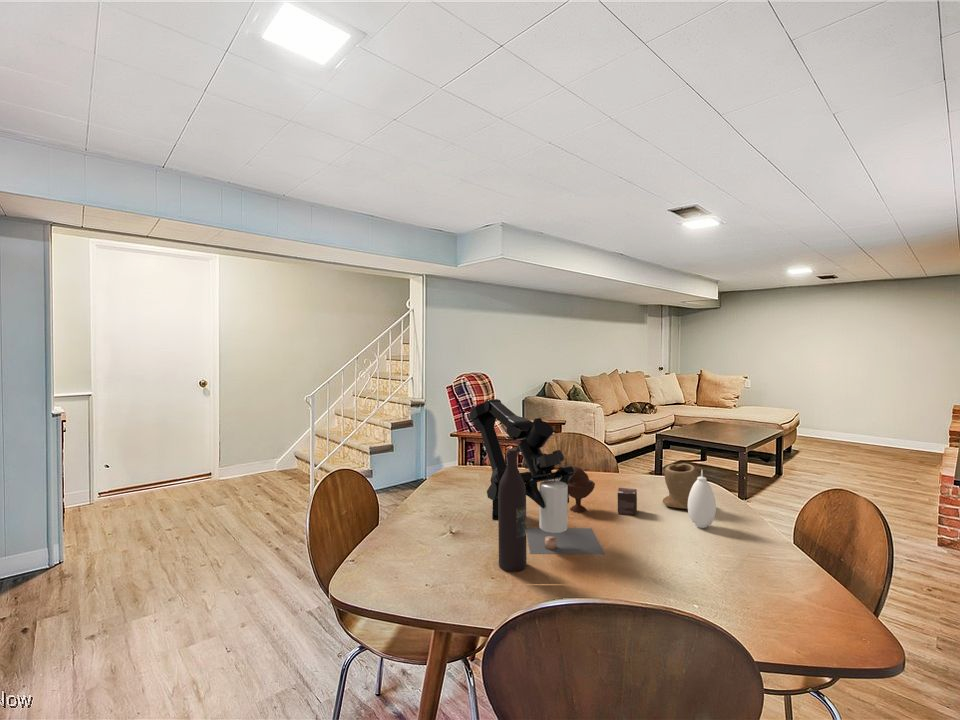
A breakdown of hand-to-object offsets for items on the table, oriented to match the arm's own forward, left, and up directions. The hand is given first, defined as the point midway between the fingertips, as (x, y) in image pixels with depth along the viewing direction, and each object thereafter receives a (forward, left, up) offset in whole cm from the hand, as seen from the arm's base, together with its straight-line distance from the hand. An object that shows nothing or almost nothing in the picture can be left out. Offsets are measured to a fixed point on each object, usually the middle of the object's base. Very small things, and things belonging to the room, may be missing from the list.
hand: (556, 505), depth 132 cm
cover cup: (-1, +1, -7) cm, 7 cm away
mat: (+3, +6, -12) cm, 14 cm away
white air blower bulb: (+47, +17, -13) cm, 51 cm away
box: (+28, +30, -13) cm, 43 cm away
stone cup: (+49, +34, -13) cm, 61 cm away
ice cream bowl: (+12, +32, -13) cm, 36 cm away
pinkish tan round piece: (-1, +1, -12) cm, 12 cm away
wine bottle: (-12, -10, -13) cm, 20 cm away
